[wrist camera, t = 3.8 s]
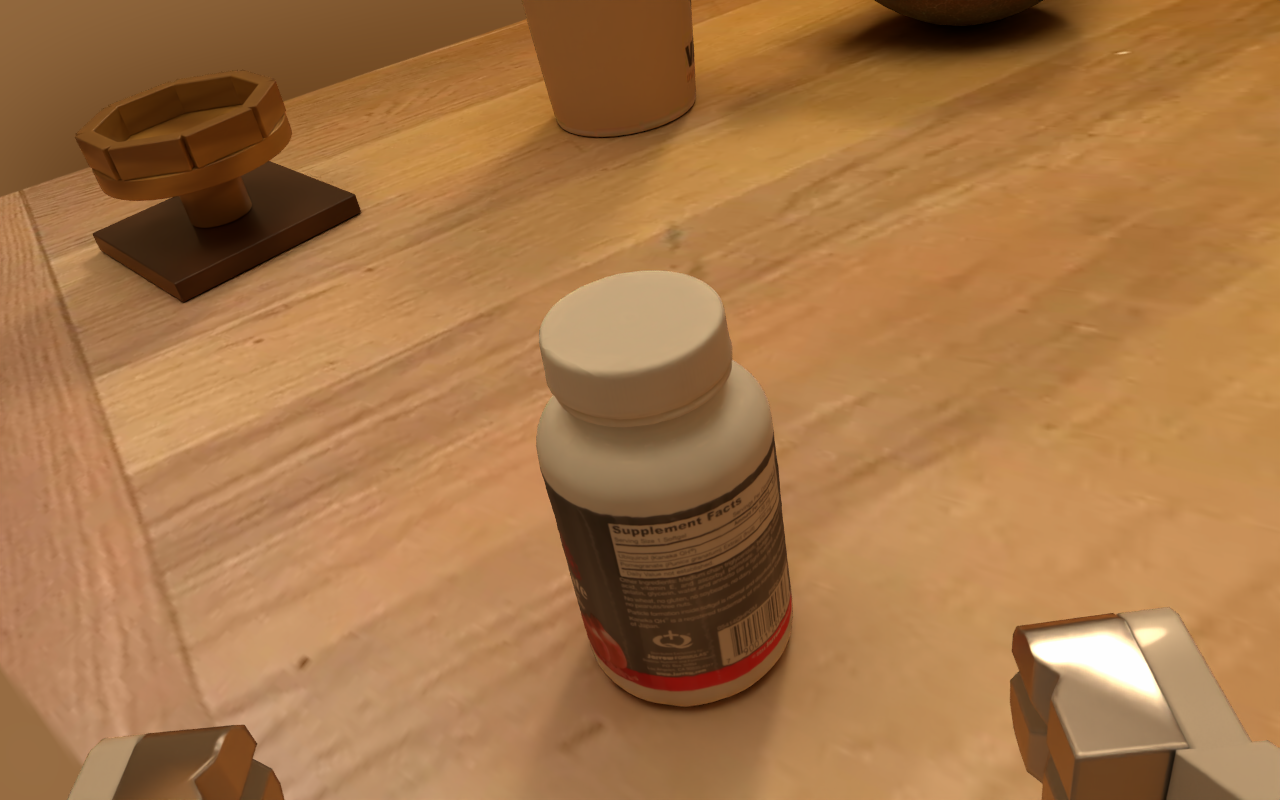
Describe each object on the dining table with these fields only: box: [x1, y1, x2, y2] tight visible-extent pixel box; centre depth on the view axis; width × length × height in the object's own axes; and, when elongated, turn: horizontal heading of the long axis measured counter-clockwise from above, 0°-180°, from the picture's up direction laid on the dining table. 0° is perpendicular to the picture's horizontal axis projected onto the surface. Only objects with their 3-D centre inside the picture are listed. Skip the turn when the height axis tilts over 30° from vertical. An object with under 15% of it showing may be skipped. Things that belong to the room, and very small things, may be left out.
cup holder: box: [75, 70, 361, 302], centre depth 52 cm, size 10×10×6 cm
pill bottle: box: [536, 271, 793, 707], centre depth 26 cm, size 5×5×10 cm
